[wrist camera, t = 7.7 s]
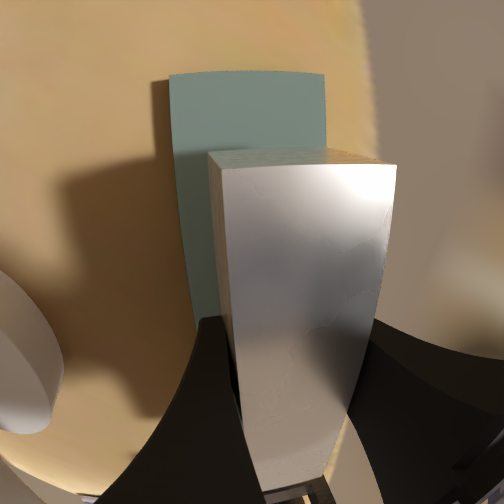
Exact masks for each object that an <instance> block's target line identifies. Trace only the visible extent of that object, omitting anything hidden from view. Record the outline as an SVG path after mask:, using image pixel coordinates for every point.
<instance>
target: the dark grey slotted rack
mask: <svg viewBox="0 0 504 504" xmlns="http://www.w3.org/2000/svg"><path fill="white" fill-rule="evenodd" d="M262 492H263V495H264V498H265V501H266V503H267V504H305V502H304V500H303V497H302V496H304V495H308V497H309V499H310V502H311V504H336V502H335V500H334V497H333V495H332V493H331V491H330V488H329V486H328V484H327V482H326V479H325V477H324V475H322V476H321V477H318V478H315V479H311V480H308V481H304V482H301V483H297V484H293V485H289V486H285V487H281V488H276V489H272V490H267V491H262Z"/></svg>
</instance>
